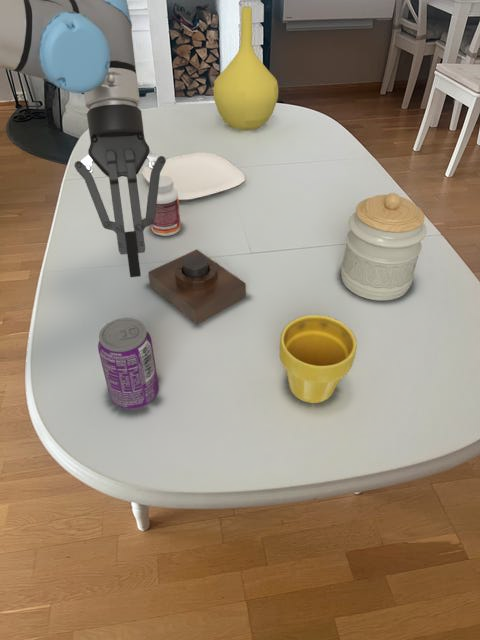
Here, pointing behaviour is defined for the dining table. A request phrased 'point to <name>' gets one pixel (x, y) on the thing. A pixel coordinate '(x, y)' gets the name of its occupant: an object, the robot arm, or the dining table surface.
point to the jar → (383, 247)
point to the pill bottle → (166, 209)
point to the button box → (197, 288)
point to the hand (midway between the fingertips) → (135, 276)
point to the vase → (245, 85)
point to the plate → (199, 175)
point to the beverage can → (128, 363)
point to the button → (195, 266)
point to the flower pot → (316, 355)
